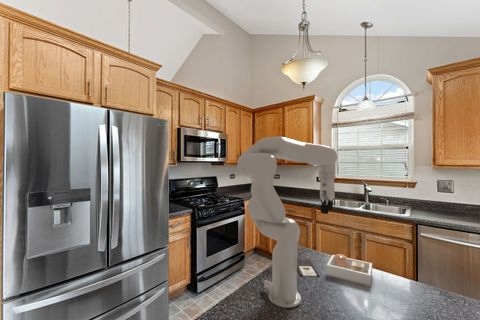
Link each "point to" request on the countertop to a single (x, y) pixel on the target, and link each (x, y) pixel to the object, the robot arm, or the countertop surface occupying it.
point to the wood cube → (357, 266)
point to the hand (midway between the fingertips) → (326, 211)
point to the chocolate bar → (306, 268)
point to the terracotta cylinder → (340, 260)
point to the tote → (350, 272)
